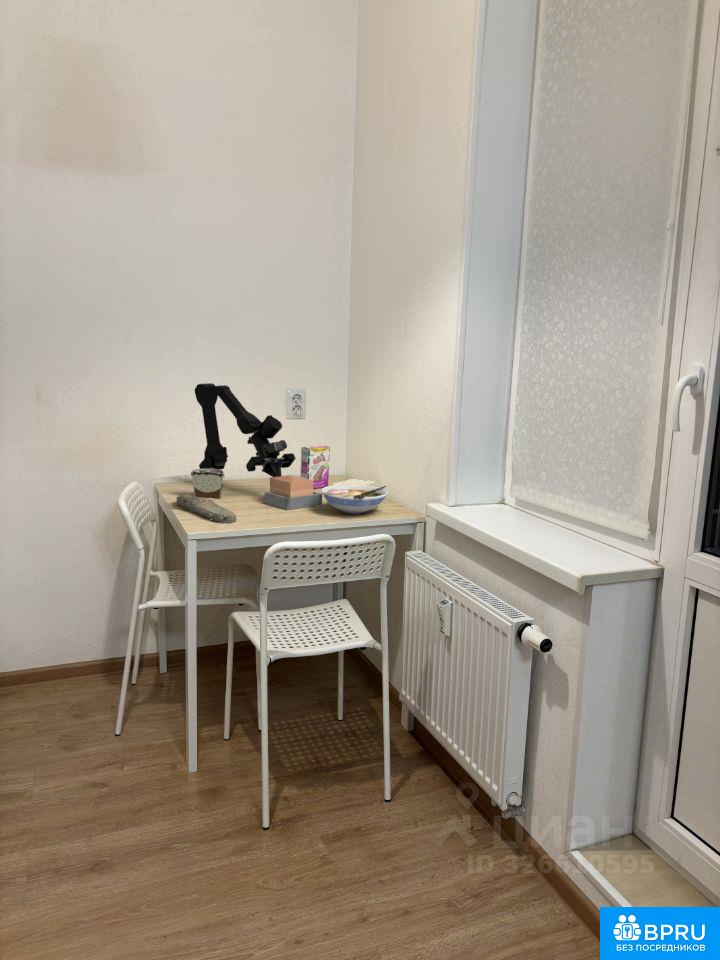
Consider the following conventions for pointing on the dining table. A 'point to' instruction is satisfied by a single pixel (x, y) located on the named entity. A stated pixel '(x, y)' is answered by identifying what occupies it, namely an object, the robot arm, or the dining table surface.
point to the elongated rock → (206, 508)
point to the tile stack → (291, 486)
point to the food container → (207, 483)
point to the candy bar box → (315, 465)
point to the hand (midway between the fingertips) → (280, 480)
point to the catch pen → (293, 500)
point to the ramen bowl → (354, 497)
